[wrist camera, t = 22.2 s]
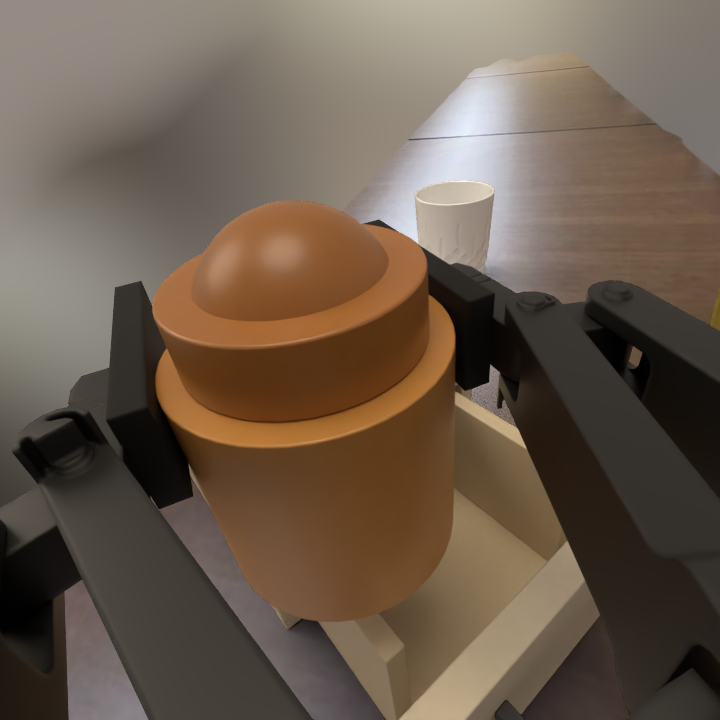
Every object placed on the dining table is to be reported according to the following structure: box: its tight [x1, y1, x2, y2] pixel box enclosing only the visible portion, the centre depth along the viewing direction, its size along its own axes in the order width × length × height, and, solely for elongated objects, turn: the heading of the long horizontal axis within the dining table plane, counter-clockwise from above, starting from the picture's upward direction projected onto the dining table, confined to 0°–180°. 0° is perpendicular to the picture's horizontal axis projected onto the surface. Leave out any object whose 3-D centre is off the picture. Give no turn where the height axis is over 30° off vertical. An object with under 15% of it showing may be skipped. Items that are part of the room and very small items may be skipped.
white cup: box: [415, 181, 495, 275], centre depth 49 cm, size 8×8×10 cm
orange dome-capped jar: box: [152, 200, 456, 622], centre depth 12 cm, size 7×7×10 cm
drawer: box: [318, 391, 600, 720], centre depth 19 cm, size 22×12×8 cm, turn 39°
